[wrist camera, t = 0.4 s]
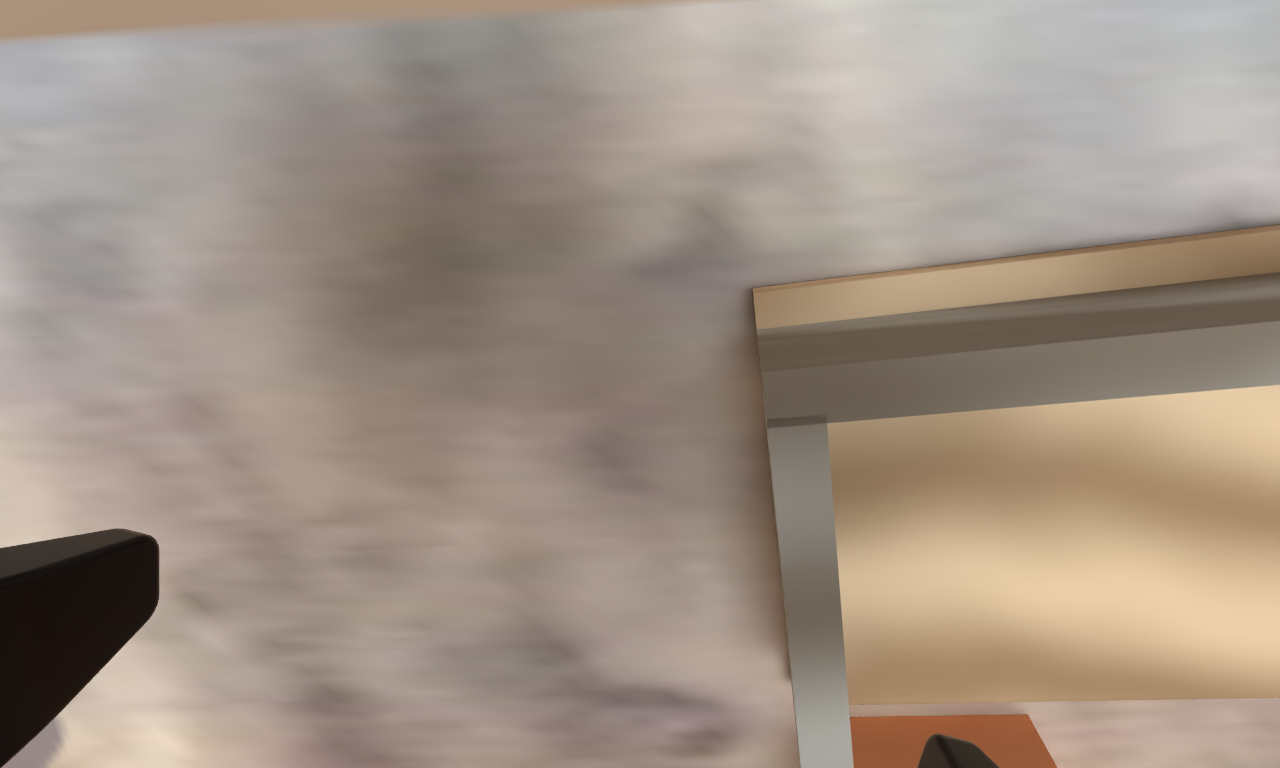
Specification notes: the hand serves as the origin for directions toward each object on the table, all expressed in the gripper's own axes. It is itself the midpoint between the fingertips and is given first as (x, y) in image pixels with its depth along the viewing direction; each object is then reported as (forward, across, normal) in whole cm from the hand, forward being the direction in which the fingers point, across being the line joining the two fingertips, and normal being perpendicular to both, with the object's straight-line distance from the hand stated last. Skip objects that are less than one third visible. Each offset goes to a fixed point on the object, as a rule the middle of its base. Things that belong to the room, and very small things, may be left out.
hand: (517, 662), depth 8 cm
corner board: (+14, -11, +1) cm, 17 cm away
